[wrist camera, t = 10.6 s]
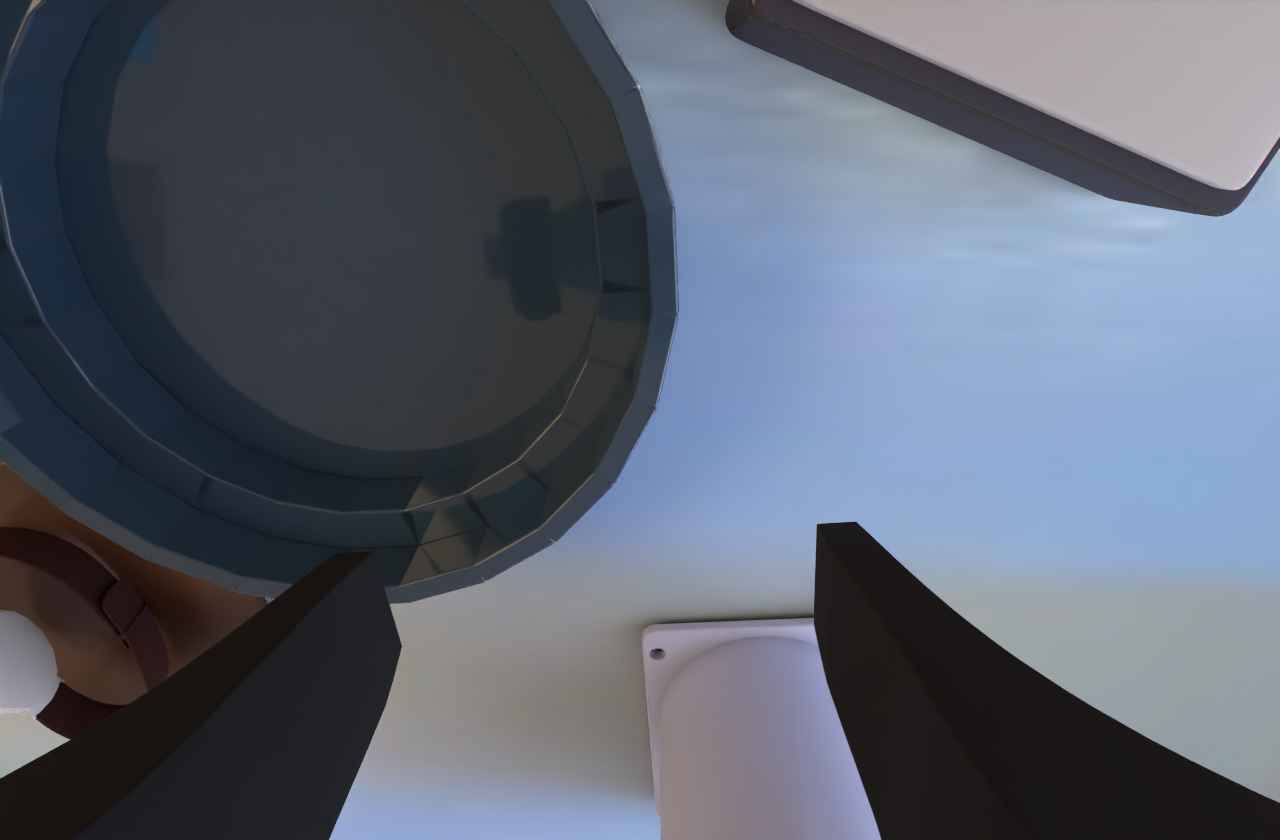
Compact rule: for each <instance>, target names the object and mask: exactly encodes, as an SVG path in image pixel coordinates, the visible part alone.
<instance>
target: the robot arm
mask: <svg viewBox="0 0 1280 840" xmlns="http://www.w3.org/2000/svg"><path fill="white" fill-rule="evenodd" d="M401 648H402V645H401V642H400V638H399V635H398V632H397V628H396V625H395V622H394V618H393V615H392V612H391V608H390V605H389V601H388V598H387V595H386V591H385V588H384V585H383V581H382V578H381V575H380V571H379V568H378V565H377V561H376V558H375V555H374V551H362V552H345V553H336V554H335V555H333V556H332V557H330V558H329V559H327V560H326V561H324V562H323V563H322V564H320V565H319V566H317V567H316V568H315V569H313V570H312V571H311V572H309V573H308V574H307V575H305V576H304V577H303V578H301V579H300V580H299V581H297V582H296V583H295V584H294V585H292V586H291V587H290V588H288V589H287V590H286V591H285V592H283V593H282V594H281V595H279V596H278V597H277V598H276V599H274V600H273V601H272V602H270V603H269V604H268V605H266V606H265V607H264V608H263V609H261V610H260V611H259V612H257V613H256V614H255V615H253V616H252V617H251V618H249V619H248V620H247V621H246V622H244V623H243V624H242V625H240V626H239V627H238V628H236V629H235V630H234V631H233V632H231V633H230V634H229V635H227V636H226V637H225V638H223V639H222V640H220V641H219V642H218V643H216V644H215V645H213V646H212V647H211V648H209V649H208V650H206V651H205V652H204V653H202V654H201V655H199V656H198V657H197V658H195V659H194V660H192V661H191V662H190V663H188V664H187V665H185V666H184V667H183V668H181V669H180V670H178V671H177V672H176V673H174V674H173V675H171V676H170V677H169V678H167V679H166V680H164V681H163V682H162V683H160V684H159V685H157V686H156V687H154V688H153V689H151V690H150V691H148V692H147V693H145V694H144V695H142V696H141V697H139V698H137V699H136V700H134V701H133V702H131V703H130V704H128V705H127V706H125V707H124V708H122V709H120V710H119V711H117V712H115V713H114V714H112V715H111V716H109V717H107V718H106V719H104V720H103V721H101V722H99V723H98V724H96V725H94V726H93V727H91V728H90V729H88V730H86V731H85V732H83V733H81V734H80V735H78V736H76V737H75V738H73V739H71V740H69V741H68V742H66V743H64V744H62V745H61V746H59V747H57V748H55V749H53V750H51V751H50V752H48V753H46V754H44V755H42V756H41V757H39V758H37V759H35V760H33V761H32V762H30V763H28V764H26V765H24V766H22V767H21V768H19V769H17V770H15V771H13V772H12V773H10V774H8V775H6V776H4V777H3V778H1V779H0V840H329V838H330V836H331V833H332V831H333V829H334V826H335V824H336V822H337V819H338V817H339V815H340V812H341V810H342V808H343V805H344V803H345V801H346V798H347V796H348V794H349V791H350V789H351V787H352V784H353V782H354V780H355V777H356V775H357V773H358V770H359V768H360V766H361V763H362V761H363V759H364V756H365V754H366V752H367V749H368V747H369V744H370V742H371V740H372V737H373V735H374V732H375V730H376V728H377V725H378V723H379V720H380V718H381V716H382V713H383V711H384V708H385V706H386V703H387V699H388V696H389V692H390V689H391V686H392V682H393V679H394V675H395V671H396V667H397V663H398V659H399V655H400V652H401ZM656 648H658V649H662V651H659V652H656V651H653V649H656ZM642 650H643V662H644V674H645V687H646V699H647V711H648V723H649V736H650V748H651V760H652V773H653V785H654V797H655V809H656V812H657V814H658V815H660V816H661V840H1280V803H1279V802H1276V801H1274V800H1272V799H1269V798H1267V797H1265V796H1263V795H1261V794H1258V793H1256V792H1254V791H1252V790H1250V789H1248V788H1246V787H1244V786H1242V785H1240V784H1238V783H1235V782H1233V781H1231V780H1229V779H1227V778H1225V777H1223V776H1221V775H1219V774H1217V773H1215V772H1213V771H1211V770H1209V769H1207V768H1205V767H1203V766H1201V765H1199V764H1197V763H1195V762H1192V761H1190V760H1188V759H1187V758H1185V757H1183V756H1181V755H1179V754H1177V753H1175V752H1173V751H1171V750H1169V749H1167V748H1166V747H1164V746H1162V745H1160V744H1158V743H1156V742H1154V741H1152V740H1150V739H1148V738H1147V737H1145V736H1143V735H1141V734H1139V733H1138V732H1136V731H1134V730H1132V729H1131V728H1129V727H1127V726H1125V725H1124V724H1122V723H1120V722H1118V721H1117V720H1115V719H1113V718H1111V717H1110V716H1108V715H1106V714H1104V713H1103V712H1101V711H1099V710H1097V709H1096V708H1094V707H1092V706H1090V705H1089V704H1087V703H1086V702H1084V701H1082V700H1081V699H1079V698H1077V697H1076V696H1074V695H1072V694H1071V693H1069V692H1068V691H1066V690H1064V689H1063V688H1061V687H1060V686H1058V685H1057V684H1055V683H1054V682H1052V681H1051V680H1049V679H1048V678H1046V677H1045V676H1043V675H1042V674H1040V673H1039V672H1037V671H1036V670H1034V669H1033V668H1031V667H1030V666H1028V665H1026V664H1025V663H1023V662H1022V661H1020V660H1019V659H1018V658H1016V657H1015V656H1013V655H1012V654H1011V653H1009V652H1008V651H1006V650H1005V649H1004V648H1002V647H1001V646H999V645H998V644H997V643H995V642H994V641H993V640H991V639H990V638H989V637H988V636H986V635H985V634H984V633H982V632H981V631H980V630H978V629H977V628H976V627H975V626H973V625H972V624H971V623H969V622H968V621H967V620H965V619H964V618H963V617H962V616H960V615H959V614H958V613H957V612H955V611H954V610H953V609H952V608H951V607H949V606H948V605H947V604H946V603H945V602H944V601H942V600H941V599H940V598H939V597H938V596H937V595H935V594H934V593H933V592H932V591H931V590H930V589H928V588H927V587H926V586H925V585H924V584H923V583H922V582H920V581H919V580H918V579H917V578H916V577H915V576H914V575H913V574H912V573H910V572H909V571H908V570H907V569H906V568H905V567H904V566H903V565H902V564H901V563H900V562H899V561H897V560H896V559H895V558H894V557H893V556H892V555H891V554H890V553H889V552H888V551H887V550H886V549H885V548H884V547H883V546H881V545H880V544H879V543H878V542H877V541H876V540H875V539H874V538H873V537H872V536H871V535H870V534H869V533H868V532H867V531H865V530H864V529H863V528H862V527H861V526H860V525H859V524H858V523H857V522H843V523H826V524H817V538H816V568H815V598H814V618H797V619H772V620H747V621H723V622H698V623H673V624H654V625H650V626H648V627H647V628H645V630H644V631H643V633H642Z"/></svg>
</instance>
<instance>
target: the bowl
mask: <svg viewBox="0 0 1280 840" xmlns="http://www.w3.org/2000/svg"><path fill="white" fill-rule="evenodd" d="M638 86H639V83H638V80H637V79H636V77H635V75H634V74H633V72H632V70H631V69H630V67H629V65H628V64H627V62H626V60H625V59H624V57H623V55H622V54H621V52H620V50H619V49H618V47H617V45H616V44H615V42H614V40H613V39H612V37H611V35H610V34H609V32H608V30H607V29H606V27H605V25H604V24H603V22H602V20H601V19H600V17H599V15H598V14H597V12H596V10H595V9H594V7H593V5H592V4H591V2H590V0H0V460H1V461H2V462H3V463H4V464H5V465H7V466H8V467H9V468H10V469H11V470H13V471H14V472H15V473H16V474H17V475H19V476H20V477H21V478H22V479H23V480H25V481H26V482H27V483H28V484H29V485H31V486H32V487H33V488H34V489H35V490H37V491H38V492H39V493H40V494H41V495H43V496H44V497H45V498H46V499H47V500H49V501H50V502H51V503H52V504H53V505H55V506H56V507H57V508H58V509H60V510H63V511H62V512H63V513H64V514H66V515H68V516H70V517H71V518H73V519H75V520H77V521H78V522H80V523H82V524H84V525H85V526H87V527H89V528H91V529H92V530H94V531H96V532H98V533H99V534H101V535H103V536H104V537H106V538H108V539H110V540H111V541H113V542H115V543H117V544H118V545H120V546H122V547H124V548H125V549H127V550H129V551H131V552H132V553H134V554H136V555H138V556H139V557H141V558H143V559H145V560H149V561H150V562H152V563H155V564H158V565H161V566H164V567H166V568H169V569H172V570H175V571H177V572H180V573H183V574H186V575H189V576H191V577H194V578H197V579H200V580H203V581H205V582H208V583H211V584H214V585H216V586H219V587H222V588H225V589H228V590H230V591H233V592H235V591H237V592H238V593H242V594H249V595H255V596H261V597H267V598H273V599H276V598H277V597H278V596H279V595H281V594H282V593H283V592H285V591H286V590H287V589H288V588H290V587H291V586H292V585H294V584H295V583H296V582H297V581H299V580H300V579H301V578H303V577H304V576H305V575H307V574H308V573H309V572H311V571H312V570H313V569H315V568H316V567H317V566H319V565H320V564H322V563H323V562H324V561H326V560H327V559H329V558H330V557H332V556H333V555H335V554H336V553H345V552H362V551H374V555H375V558H376V561H377V565H378V568H379V571H380V575H381V578H382V581H383V585H384V588H385V591H386V595H387V598H388V601H389V604H393V603H406V602H407V603H410V602H414V601H417V600H421V599H425V598H428V597H432V596H436V595H439V594H443V593H447V592H451V591H454V590H458V589H462V588H465V587H469V586H473V585H476V584H480V583H484V582H485V580H486V581H487V580H489V579H491V578H493V577H495V576H496V575H498V574H500V573H502V572H503V571H505V570H507V569H509V568H511V567H512V566H514V565H516V564H518V563H520V562H521V561H523V560H525V559H527V558H528V557H530V556H532V555H534V554H536V553H537V552H539V551H541V550H543V549H544V548H546V547H548V546H550V545H552V544H553V543H554V542H555V541H558V540H559V539H560V538H561V537H562V536H563V535H564V534H565V533H566V532H567V531H568V530H569V529H570V528H571V527H572V526H573V525H574V524H575V523H576V522H577V521H578V520H579V519H580V518H581V517H582V516H583V515H584V514H585V513H586V512H587V511H588V510H589V509H590V508H591V507H592V506H593V505H594V504H595V503H596V502H597V501H598V500H599V499H600V498H601V497H602V496H603V495H604V494H605V493H606V492H607V491H608V490H609V489H610V488H611V487H612V486H613V484H614V483H615V482H616V481H617V479H618V477H619V475H620V474H621V472H622V470H623V468H624V466H625V465H626V463H627V461H628V459H629V457H630V456H631V454H632V452H633V450H634V449H635V447H636V445H637V443H638V441H639V440H640V438H641V436H642V434H643V432H644V431H645V429H646V427H647V425H648V424H649V422H650V420H651V418H652V416H653V415H654V413H655V411H656V407H657V405H658V402H659V398H660V394H661V389H662V385H663V381H664V376H665V372H666V368H667V364H668V359H669V355H670V351H671V346H672V342H673V338H674V334H675V329H676V325H677V321H678V312H679V301H678V276H677V252H676V227H675V208H674V201H673V196H672V191H671V187H670V181H669V177H668V174H667V171H666V167H665V164H664V161H663V157H662V154H661V151H660V148H659V144H658V141H657V138H656V134H655V131H654V128H653V125H652V121H651V118H650V115H649V111H648V108H647V105H646V102H645V98H644V95H643V92H642V89H641V88H640V87H638Z"/></svg>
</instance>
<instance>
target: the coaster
mask: <svg viewBox="0 0 1280 840" xmlns="http://www.w3.org/2000/svg"><path fill="white" fill-rule="evenodd" d="M62 511H63V510H60V509H58V508H57V507H56V506H55V505H53V504H52V503H51V502H50V501H49V500H47V499H46V498H45V497H44V496H43V495H41V494H40V493H39V492H38V491H37V490H35V489H34V488H33V487H32V486H31V485H29V484H28V483H27V482H26V481H25V480H23V479H22V478H21V477H20V476H19V475H17V474H16V473H15V472H14V471H13V470H11V469H10V468H9V467H8V466H7V465H5V464H4V463H3V462H2V461H1V460H0V527H19V528H28V529H32V530H37V531H41V532H45V533H49V534H52V535H54V536H57V537H59V538H61V539H64V540H66V541H68V542H70V543H72V544H74V545H76V546H77V547H79V548H81V549H82V550H84V551H86V552H87V553H88V554H89V555H91V556H92V557H93V558H95V559H96V560H97V561H98V562H100V563H101V564H102V565H103V566H104V567H105V568H106V569H107V570H108V571H109V572H110V573H111V574H112V575H113V576H114V577H115V578H116V579H117V580H118V581H120V580H124V581H126V582H128V583H129V584H130V585H131V586H132V588H133V589H134V590H135V591H136V593H137V594H138V595H139V596H140V598H141V599H142V600H143V602H144V604H146V603H148V605H149V607H150V608H149V609H148V610H149V611H150V613H151V614H152V616H153V618H154V620H155V622H156V624H157V626H158V628H159V630H160V632H161V634H162V637H163V640H164V643H165V645H166V648H167V653H168V658H169V668H168V675H167V677H166V679H167V678H169V677H170V676H171V675H173V674H174V673H176V672H177V671H178V670H180V669H181V668H183V667H184V666H185V665H187V664H188V663H190V662H191V661H192V660H194V659H195V658H197V657H198V656H199V655H201V654H202V653H204V652H205V651H206V650H208V649H209V648H211V647H212V646H213V645H215V644H216V643H218V642H219V641H220V640H222V639H223V638H225V637H226V636H227V635H229V634H230V633H231V632H233V631H234V630H235V629H236V628H238V627H239V626H240V625H242V624H243V623H244V622H246V621H247V620H248V619H249V618H251V617H252V616H253V615H255V614H256V613H257V612H259V611H260V610H261V609H263V608H264V607H265V606H266V601H265V598H264V597H261V596H255V595H249V594H242V593H238V592H237V591H235V592H233V591H230V590H228V589H225V588H222V587H219V586H216V585H214V584H211V583H208V582H205V581H203V580H200V579H197V578H194V577H191V576H189V575H186V574H183V573H180V572H177V571H175V570H172V569H169V568H166V567H164V566H161V565H158V564H155V563H152V562H150V561H149V560H145V559H143V558H141V557H139V556H138V555H136V554H134V553H132V552H131V551H129V550H127V549H125V548H124V547H122V546H120V545H118V544H117V543H115V542H113V541H111V540H110V539H108V538H106V537H104V536H103V535H101V534H99V533H98V532H96V531H94V530H92V529H91V528H89V527H87V526H85V525H84V524H82V523H80V522H78V521H77V520H75V519H73V518H71V517H70V516H68V515H66V514H64V513H63V512H62ZM0 610H6V611H14V612H16V613H18V614H20V615H22V616H24V617H26V618H28V619H29V620H30V621H32V622H33V623H34V624H35V625H36V626H38V627H39V628H40V629H41V630H42V631H43V633H44V635H45V636H46V638H47V640H48V641H49V643H50V644H51V646H52V648H53V649H54V654H55V660H56V665H57V676H58V677H59V678H61V679H62V680H63V681H65V682H64V683H65V684H66V685H68V686H69V687H70V688H72V689H73V690H74V691H76V692H78V693H80V694H82V695H84V696H86V697H88V698H91V699H93V700H95V701H98V702H102V703H106V704H113V705H124V704H130V703H131V702H133V701H134V700H136V699H137V698H139V697H141V696H142V695H144V694H145V693H147V688H146V684H145V680H144V677H143V674H142V672H141V669H140V667H139V664H138V662H137V660H136V657H135V655H134V653H133V652H132V650H131V648H130V647H129V649H128V650H124V649H123V647H122V646H121V644H120V643H119V641H118V640H117V639H116V637H115V635H114V634H113V632H112V631H111V630H110V629H109V627H108V626H107V625H106V624H105V623H104V622H103V621H102V619H101V618H100V617H99V616H98V615H97V614H96V613H95V612H94V611H93V610H92V609H91V608H89V607H88V606H87V605H86V604H85V603H84V602H83V601H82V600H81V599H80V598H79V597H78V596H77V595H75V594H74V593H73V592H72V591H71V590H70V589H69V588H68V587H67V586H66V585H64V584H62V583H61V582H59V581H57V580H56V579H54V578H52V577H51V576H49V575H47V574H46V573H44V572H42V571H40V570H38V569H36V568H33V567H30V566H28V565H25V564H22V563H19V562H17V561H14V560H11V559H7V558H2V557H0ZM166 679H165V680H166Z"/></svg>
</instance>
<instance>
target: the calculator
mask: <svg viewBox="0 0 1280 840" xmlns="http://www.w3.org/2000/svg"><path fill="white" fill-rule="evenodd" d="M725 20H726V25H727V28H728V30H729V31H730V32H731V34H732V35H733V36H735V37H736V38H738V39H740V40H742V41H744V42H747V43H749V44H751V45H753V46H756V47H758V48H760V49H763V50H765V51H767V52H770V53H772V54H774V55H777V56H779V57H781V58H784V59H786V60H788V61H791V62H793V63H795V64H798V65H800V66H802V67H805V68H807V69H809V70H812V71H814V72H816V73H818V74H821V75H823V76H825V77H828V78H830V79H832V80H835V81H837V82H839V83H842V84H844V85H846V86H849V87H851V88H853V89H856V90H858V91H860V92H863V93H865V94H867V95H870V96H872V97H874V98H877V99H879V100H881V101H884V102H886V103H888V104H891V105H893V106H895V107H898V108H900V109H902V110H904V111H907V112H909V113H911V114H914V115H916V116H918V117H921V118H923V119H925V120H928V121H930V122H932V123H935V124H937V125H939V126H942V127H944V128H946V129H949V130H951V131H953V132H956V133H958V134H960V135H963V136H965V137H967V138H970V139H972V140H974V141H977V142H979V143H981V144H984V145H986V146H988V147H991V148H993V149H995V150H997V151H1000V152H1002V153H1004V154H1007V155H1009V156H1011V157H1014V158H1016V159H1018V160H1021V161H1023V162H1025V163H1028V164H1030V165H1032V166H1035V167H1037V168H1039V169H1042V170H1044V171H1046V172H1049V173H1051V174H1053V175H1056V176H1058V177H1060V178H1063V179H1065V180H1067V181H1070V182H1072V183H1074V184H1077V185H1079V186H1081V187H1083V188H1086V189H1088V190H1090V191H1093V192H1095V193H1097V194H1100V195H1102V196H1104V197H1107V198H1110V199H1114V200H1118V201H1124V202H1130V203H1135V204H1141V205H1147V206H1153V207H1159V208H1165V209H1170V210H1176V211H1182V212H1188V213H1194V214H1201V215H1207V216H1223V215H1226V214H1228V213H1230V212H1232V211H1233V210H1235V209H1236V208H1237V207H1238V206H1239V205H1240V204H1241V203H1242V202H1243V201H1244V199H1245V198H1246V197H1247V195H1248V194H1249V192H1250V191H1251V189H1252V188H1253V187H1254V185H1255V184H1256V182H1257V181H1258V179H1259V178H1260V176H1261V175H1262V173H1263V172H1264V170H1265V169H1266V167H1267V166H1268V164H1269V163H1270V161H1271V160H1272V159H1273V157H1274V156H1275V154H1276V153H1277V151H1278V150H1279V148H1280V0H729V3H728V6H727V10H726V15H725Z"/></svg>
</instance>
